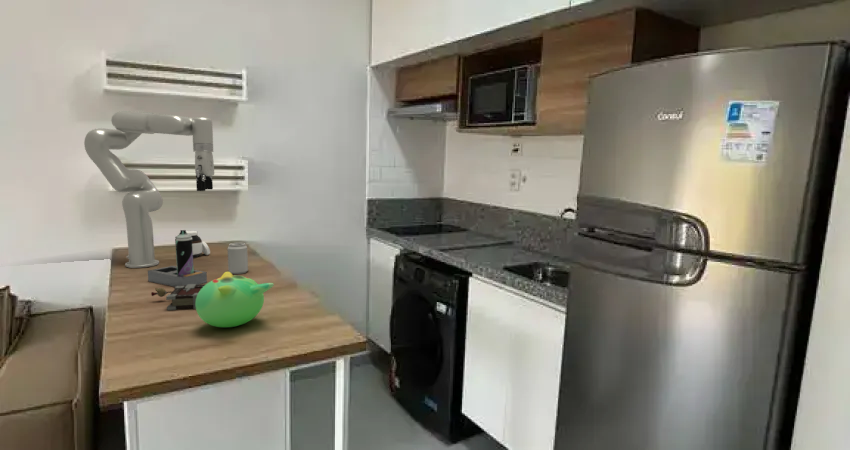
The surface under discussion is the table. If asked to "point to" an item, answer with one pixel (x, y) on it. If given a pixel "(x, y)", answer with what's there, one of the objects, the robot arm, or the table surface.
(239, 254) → the can
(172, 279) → the grey rectangular grid frame
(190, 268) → the spray can
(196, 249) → the spread jar
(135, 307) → the table surface
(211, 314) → the toy bird
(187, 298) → the dark layered knobbed device
